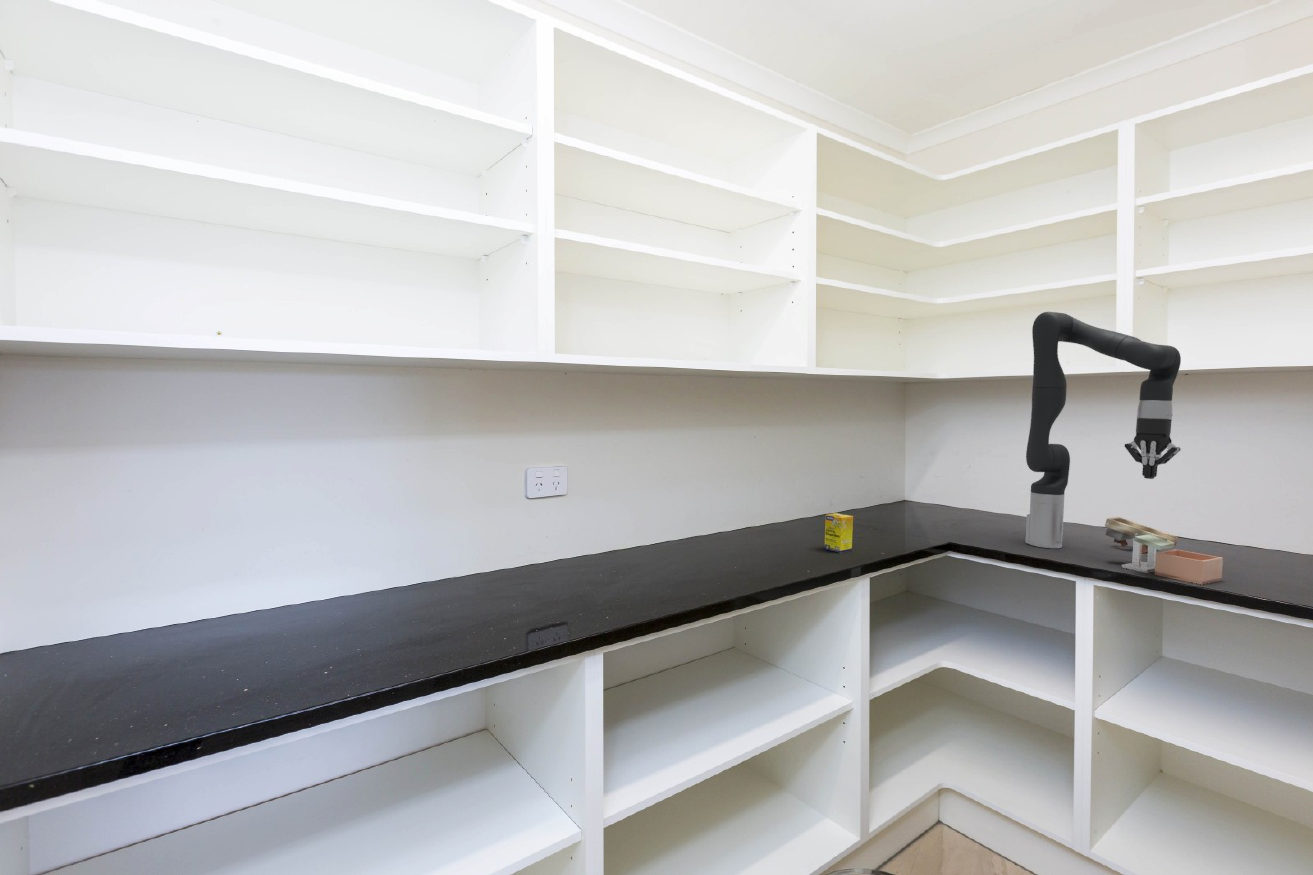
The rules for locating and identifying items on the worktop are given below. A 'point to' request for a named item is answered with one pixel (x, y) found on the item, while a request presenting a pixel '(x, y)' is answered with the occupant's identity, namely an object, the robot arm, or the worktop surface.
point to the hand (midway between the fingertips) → (1149, 478)
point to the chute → (1149, 537)
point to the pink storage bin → (1189, 566)
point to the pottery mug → (1124, 543)
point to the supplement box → (838, 532)
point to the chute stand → (1136, 558)
